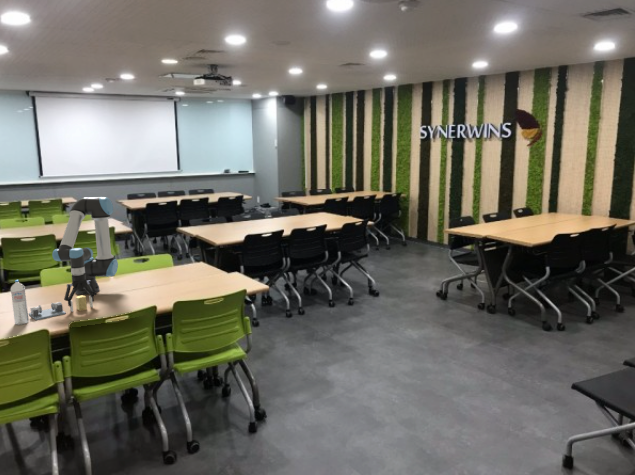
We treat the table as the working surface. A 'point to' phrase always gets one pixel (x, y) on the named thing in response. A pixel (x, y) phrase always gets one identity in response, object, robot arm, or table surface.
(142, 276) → the table surface
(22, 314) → the water bottle
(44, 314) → the shaft bench
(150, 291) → the table surface
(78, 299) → the pale yellow block
